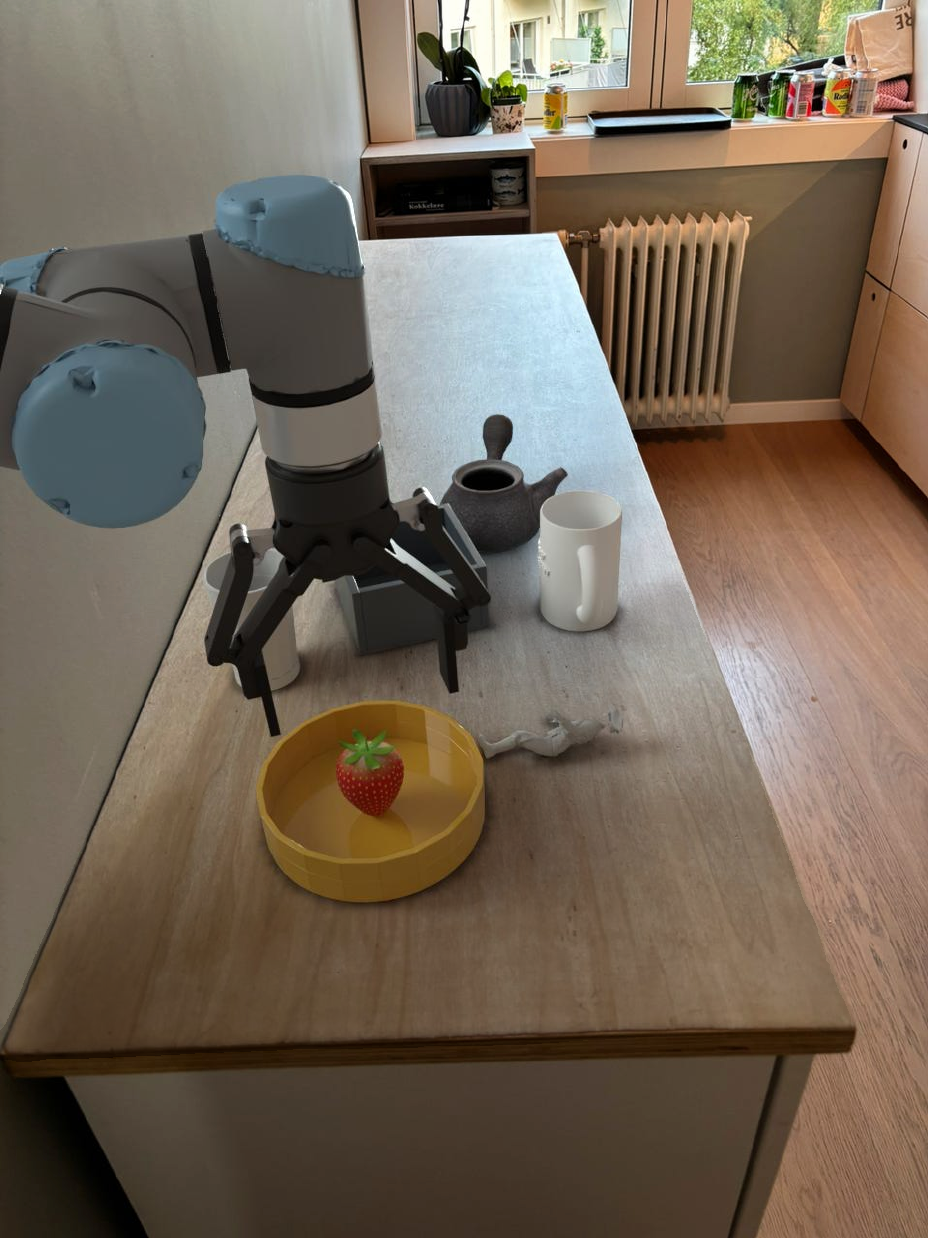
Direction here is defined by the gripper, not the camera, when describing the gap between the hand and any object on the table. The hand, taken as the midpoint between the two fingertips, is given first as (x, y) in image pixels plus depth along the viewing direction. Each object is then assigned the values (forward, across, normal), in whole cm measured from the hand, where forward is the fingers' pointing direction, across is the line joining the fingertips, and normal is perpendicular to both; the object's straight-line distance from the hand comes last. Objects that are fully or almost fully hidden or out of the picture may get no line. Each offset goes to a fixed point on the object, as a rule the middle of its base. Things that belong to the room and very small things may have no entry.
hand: (363, 703), depth 74 cm
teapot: (+12, -25, -42) cm, 50 cm away
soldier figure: (+12, -16, -2) cm, 20 cm away
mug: (+12, -26, -19) cm, 34 cm away
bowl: (+12, 0, 0) cm, 12 cm away
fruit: (+12, 0, 0) cm, 12 cm away
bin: (+12, -10, -28) cm, 32 cm away
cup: (+12, +6, -22) cm, 26 cm away
